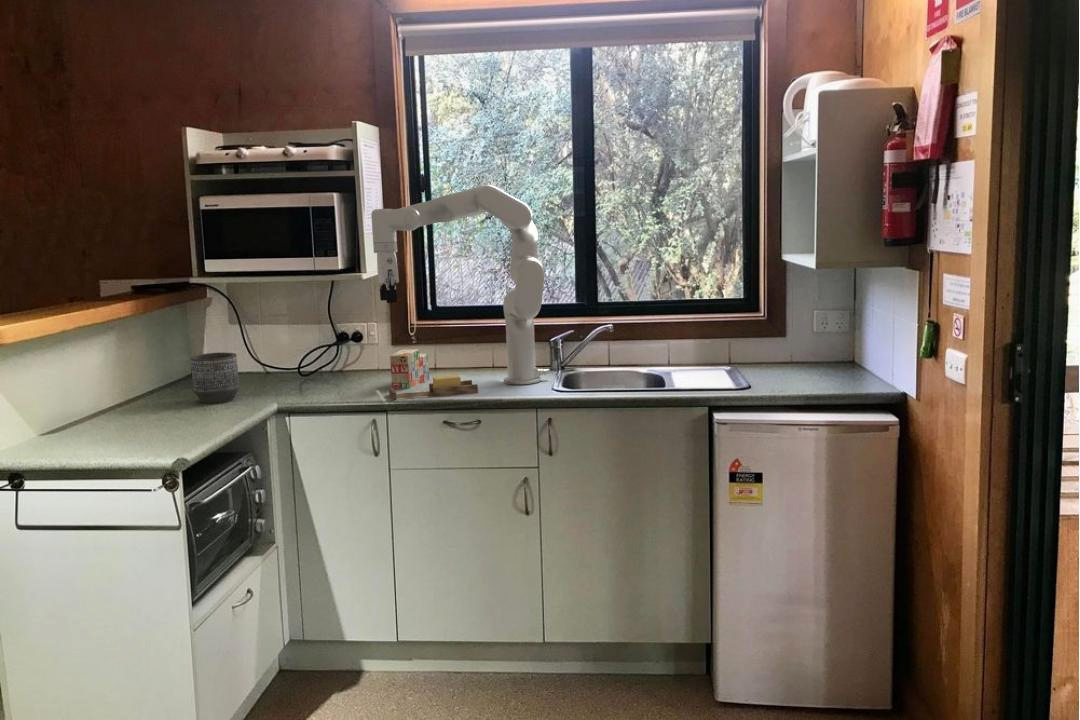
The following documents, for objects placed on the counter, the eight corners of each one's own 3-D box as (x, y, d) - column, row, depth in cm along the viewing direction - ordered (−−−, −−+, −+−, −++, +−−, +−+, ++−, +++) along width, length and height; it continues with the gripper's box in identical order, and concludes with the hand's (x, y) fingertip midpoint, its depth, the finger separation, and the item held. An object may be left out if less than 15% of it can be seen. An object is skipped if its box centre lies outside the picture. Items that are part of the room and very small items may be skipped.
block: (457, 389, 307) (457, 374, 306) (461, 392, 302) (460, 377, 301) (433, 392, 305) (432, 376, 304) (436, 394, 300) (435, 379, 299)
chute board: (471, 389, 311) (471, 379, 310) (478, 395, 302) (477, 384, 301) (389, 397, 303) (388, 387, 303) (393, 402, 294) (392, 392, 294)
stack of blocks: (412, 379, 334) (410, 345, 332) (429, 379, 333) (427, 345, 331) (392, 391, 314) (389, 354, 312) (409, 391, 312) (407, 354, 310)
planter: (214, 407, 298) (209, 360, 295) (185, 403, 305) (180, 357, 303) (249, 398, 310) (245, 353, 307) (221, 395, 317) (217, 351, 315)
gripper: (403, 248, 295) (406, 302, 298) (391, 246, 311) (394, 298, 314) (379, 249, 292) (382, 304, 295) (368, 247, 308) (371, 300, 311)
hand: (388, 301), depth 304 cm, fingers open, 9 cm apart
